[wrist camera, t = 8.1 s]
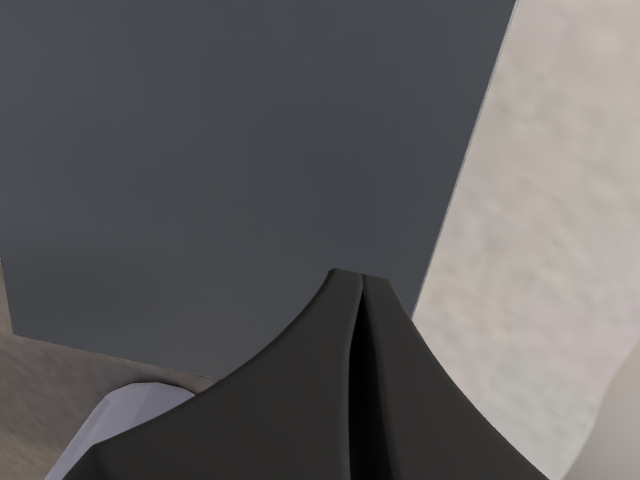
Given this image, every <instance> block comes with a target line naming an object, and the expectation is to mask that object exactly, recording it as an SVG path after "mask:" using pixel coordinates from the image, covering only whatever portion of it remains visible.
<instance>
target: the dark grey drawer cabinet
mask: <svg viewBox="0 0 640 480" xmlns="http://www.w3.org/2000/svg"><path fill="white" fill-rule="evenodd" d="M517 3H518V0H0V255H1V262H2V268H3V274H4V280H5V286H6V293H7V299H8V305H9V311H10V317H11V323H12V330H13V334H15V335H18V336H23V337H28V338H32V339H37V340H41V341H46V342H50V343H55V344H60V345H64V346H69V347H73V348H78V349H82V350H87V351H92V352H96V353H101V354H105V355H110V356H114V357H119V358H124V359H128V360H133V361H137V362H142V363H146V364H151V365H156V366H160V367H165V368H169V369H174V370H178V371H183V372H188V373H192V374H197V375H201V376H206V377H210V378H215V379H220V380H222V379H223V378H225V377H226V376H228V375H229V374H230V373H232V372H233V371H235V370H236V369H237V368H239V367H240V366H242V365H243V364H244V363H246V362H247V361H248V360H250V359H251V358H252V357H253V356H255V355H256V354H257V353H258V352H260V351H261V350H262V349H263V348H265V347H266V346H267V345H268V344H269V343H270V342H271V341H273V340H274V339H275V338H276V337H277V336H278V335H279V334H280V333H281V332H282V331H283V330H284V329H285V328H286V327H287V326H288V325H289V324H290V323H291V322H292V321H293V320H294V319H295V318H296V317H297V316H298V315H299V314H300V312H301V311H302V310H303V309H304V308H305V306H306V305H307V304H308V303H309V302H310V300H311V299H312V298H313V297H314V295H315V294H316V293H317V291H318V290H319V288H320V287H321V285H322V284H323V282H324V280H325V278H326V276H327V274H328V271H329V270H331V269H333V268H339V269H343V270H348V271H353V272H358V273H362V274H367V275H372V276H376V277H381V278H386V279H389V280H390V282H391V283H392V285H393V287H394V289H395V291H396V293H397V294H398V296H399V298H400V300H401V302H402V304H403V306H404V308H405V309H406V311H407V313H408V315H409V316H410V318H411V320H412V318H413V315H414V312H415V309H416V306H417V303H418V300H419V297H420V294H421V291H422V288H423V285H424V282H425V279H426V276H427V273H428V270H429V267H430V264H431V261H432V258H433V255H434V252H435V249H436V246H437V243H438V240H439V237H440V234H441V231H442V228H443V225H444V222H445V219H446V216H447V213H448V210H449V207H450V204H451V201H452V198H453V195H454V192H455V189H456V186H457V183H458V180H459V177H460V174H461V171H462V168H463V165H464V162H465V159H466V156H467V153H468V150H469V147H470V144H471V141H472V138H473V135H474V132H475V129H476V126H477V123H478V120H479V117H480V114H481V111H482V108H483V105H484V102H485V99H486V96H487V93H488V90H489V87H490V84H491V81H492V78H493V75H494V72H495V69H496V66H497V63H498V60H499V57H500V54H501V51H502V48H503V45H504V42H505V39H506V36H507V33H508V30H509V27H510V24H511V21H512V18H513V15H514V12H515V9H516V6H517Z"/></svg>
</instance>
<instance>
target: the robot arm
mask: <svg viewBox="0 0 640 480" xmlns="http://www.w3.org/2000/svg"><path fill="white" fill-rule="evenodd" d="M62 480H549V479H548V478H547V477H546V476H545V475H543V474H542V473H541V472H540V471H539V470H538V469H537V468H536V467H535V466H534V465H532V464H531V463H530V462H529V461H528V460H527V459H526V458H525V457H524V456H523V455H521V454H520V453H519V452H518V451H517V450H516V449H515V448H514V447H513V446H512V445H511V444H510V443H509V442H508V441H507V440H506V439H505V438H504V437H503V436H502V435H501V434H500V433H499V432H498V431H497V430H496V429H495V428H494V427H493V426H492V425H491V424H490V423H489V422H488V421H487V420H486V418H485V417H484V416H483V415H482V414H481V413H480V412H479V411H478V410H477V409H476V408H475V406H474V405H473V404H472V403H471V402H470V401H469V399H468V398H467V397H466V396H465V395H464V394H463V392H462V391H461V390H460V389H459V388H458V387H457V385H456V384H455V383H454V382H453V380H452V379H451V378H450V377H449V375H448V374H447V373H446V371H445V370H444V369H443V367H442V366H441V365H440V363H439V362H438V360H437V359H436V358H435V356H434V355H433V353H432V352H431V350H430V349H429V347H428V346H427V344H426V343H425V341H424V340H423V338H422V336H421V335H420V333H419V332H418V330H417V328H416V327H415V325H414V323H413V322H412V320H411V318H410V316H409V315H408V313H407V311H406V309H405V308H404V306H403V304H402V302H401V300H400V298H399V296H398V294H397V293H396V291H395V289H394V287H393V285H392V283H391V282H390V280H389V279H386V278H381V277H376V276H372V275H367V274H362V273H358V272H353V271H348V270H343V269H339V268H333V269H331V270H329V271H328V274H327V276H326V278H325V280H324V282H323V284H322V285H321V287H320V288H319V290H318V291H317V293H316V294H315V295H314V297H313V298H312V299H311V300H310V302H309V303H308V304H307V305H306V306H305V308H304V309H303V310H302V311H301V312H300V314H299V315H298V316H297V317H296V318H295V319H294V320H293V321H292V322H291V323H290V324H289V325H288V326H287V327H286V328H285V329H284V330H283V331H282V332H281V333H280V334H279V335H278V336H277V337H276V338H275V339H274V340H273V341H271V342H270V343H269V344H268V345H267V346H266V347H265V348H263V349H262V350H261V351H260V352H258V353H257V354H256V355H255V356H253V357H252V358H251V359H250V360H248V361H247V362H246V363H244V364H243V365H242V366H240V367H239V368H237V369H236V370H235V371H233V372H232V373H230V374H229V375H228V376H226V377H225V378H223V379H222V380H220V381H219V382H217V383H216V384H214V385H212V386H211V387H209V388H208V389H206V390H204V391H202V392H200V393H199V394H197V395H195V396H193V397H192V398H190V399H188V400H186V401H185V402H183V403H181V404H179V405H178V406H176V407H174V408H172V409H170V410H169V411H167V412H165V413H163V414H161V415H159V416H157V417H155V418H153V419H151V420H149V421H146V422H144V423H142V424H140V425H137V426H135V427H133V428H131V429H129V430H126V431H124V432H122V433H120V434H118V435H115V436H113V437H111V438H109V439H106V440H104V441H101V442H99V443H96V444H94V445H92V446H91V447H90V448H89V449H88V450H87V451H86V452H85V453H84V454H83V456H82V457H81V458H80V459H79V460H78V461H77V462H76V464H75V465H74V466H73V467H72V468H71V469H70V470H69V471H68V473H67V474H66V475H65V476H64V478H63V479H62Z"/></svg>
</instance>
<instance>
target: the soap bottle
mask: <svg viewBox="0 0 640 480" xmlns="http://www.w3.org/2000/svg"><path fill="white" fill-rule="evenodd" d="M193 396H195V394H193V393H191V392H189V391H187V390H185V389H184V388H180V387H175V386H171V385H166V384H162V383H158V382H151V383H131V384H129V385H126V386H124V387H121V388H119V389H116V390H114V391H111V392H110V393H108V394H107V395H106V396H105V397H104V398H103V399H102V400H101V402H100V403H99V404H98V405H97V406H96V407H95V408H94V410H93V411H92V413H91V414H90V415H89V417H88V418H87V420H86V421H85V422H84V424H83V425H82V427H81V428H80V429H79V431H78V432H77V434H76V435H75V437H74V438H73V439H72V441H71V442H70V444H69V445H68V446H67V448H66V449H65V451H64V452H63V453H62V455H61V456H60V458H59V459H58V460H57V462H56V463H55V465H54V466H53V468H52V469H51V470H50V472H49V473H48V475H47V476H46V477H45V479H44V480H62V479H63V478H64V476H65V475H66V474H67V473H68V471H69V470H70V469H71V468H72V467H73V466H74V465H75V464H76V462H77V461H78V460H79V459H80V458H81V457H82V456H83V454H84V453H85V452H86V451H87V450H88V449H89V448H90V447H91V446H92V445H94V444H96V443H99V442H101V441H104V440H106V439H109V438H111V437H113V436H115V435H118V434H120V433H122V432H124V431H126V430H129V429H131V428H133V427H135V426H137V425H140V424H142V423H144V422H146V421H149V420H151V419H153V418H155V417H157V416H159V415H161V414H163V413H165V412H167V411H169V410H170V409H172V408H174V407H176V406H178V405H179V404H181V403H183V402H185V401H186V400H188V399H190V398H192V397H193Z"/></svg>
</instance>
